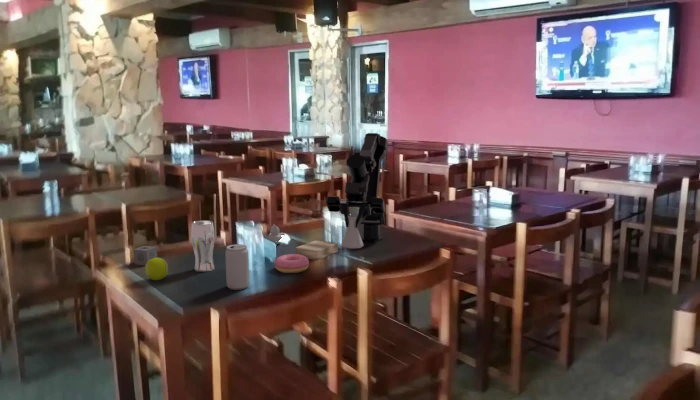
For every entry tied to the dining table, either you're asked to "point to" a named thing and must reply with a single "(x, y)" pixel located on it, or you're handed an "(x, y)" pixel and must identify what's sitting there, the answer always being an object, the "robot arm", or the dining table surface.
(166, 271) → the tennis ball
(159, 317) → the dining table surface
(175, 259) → the dining table surface
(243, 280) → the beverage can
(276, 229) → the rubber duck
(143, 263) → the dice cube
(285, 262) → the doughnut
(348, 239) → the flask
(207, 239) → the beer glass
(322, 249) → the foundation block
